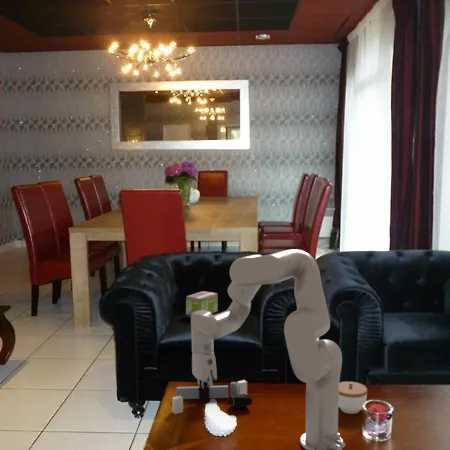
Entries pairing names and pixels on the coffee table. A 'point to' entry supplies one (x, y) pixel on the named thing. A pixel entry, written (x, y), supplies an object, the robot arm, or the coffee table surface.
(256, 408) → the coffee table surface
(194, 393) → the long grey bar
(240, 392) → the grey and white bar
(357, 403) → the lidded jar
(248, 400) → the tape measure
